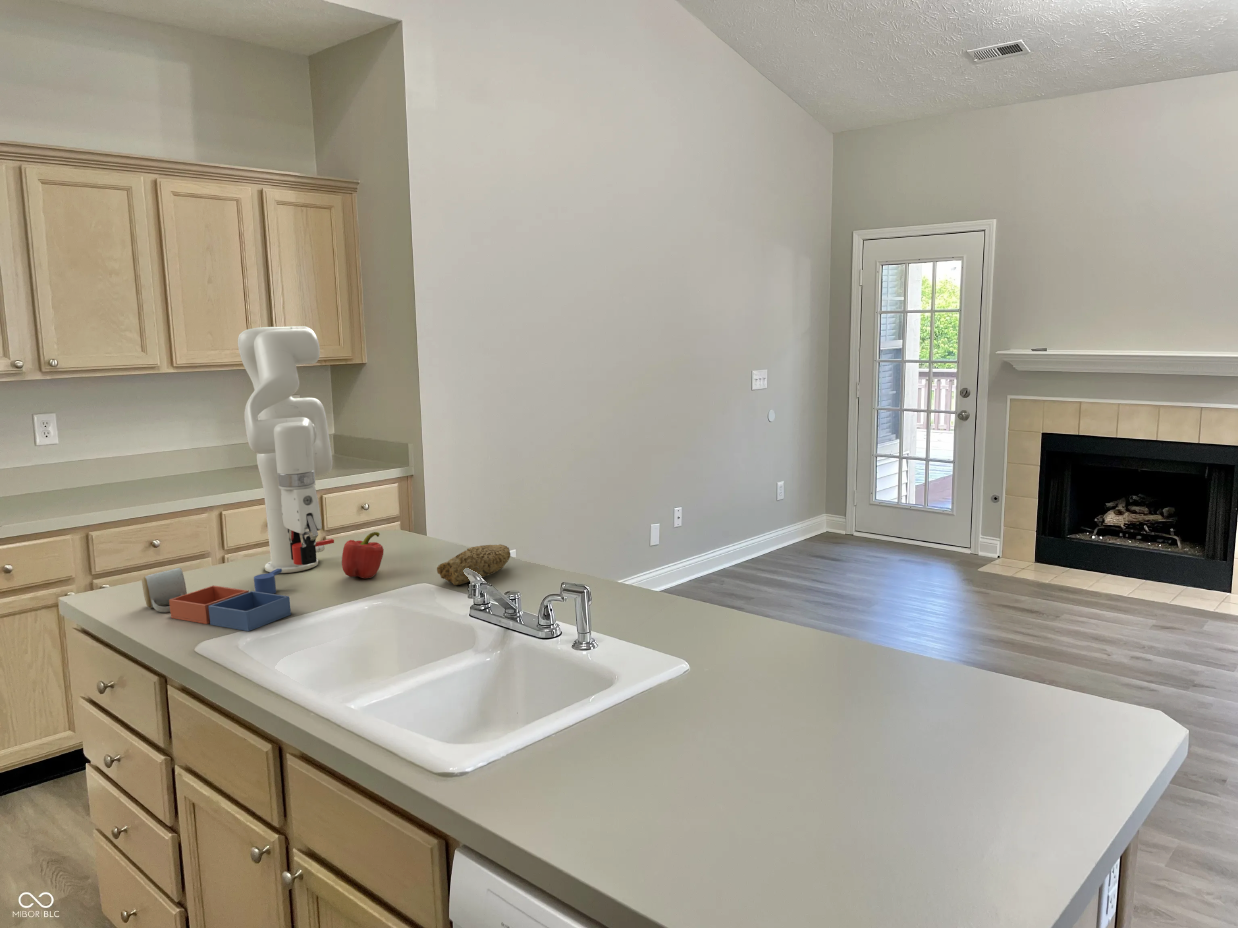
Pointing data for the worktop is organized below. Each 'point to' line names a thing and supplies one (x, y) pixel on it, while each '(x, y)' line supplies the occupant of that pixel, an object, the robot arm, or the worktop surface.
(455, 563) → the sponge
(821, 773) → the worktop surface
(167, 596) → the ceramic mug
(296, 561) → the red scoop
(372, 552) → the vegetable
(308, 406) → the robot arm
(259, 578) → the blue scoop
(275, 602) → the blue bin
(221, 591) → the red bin
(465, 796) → the worktop surface
